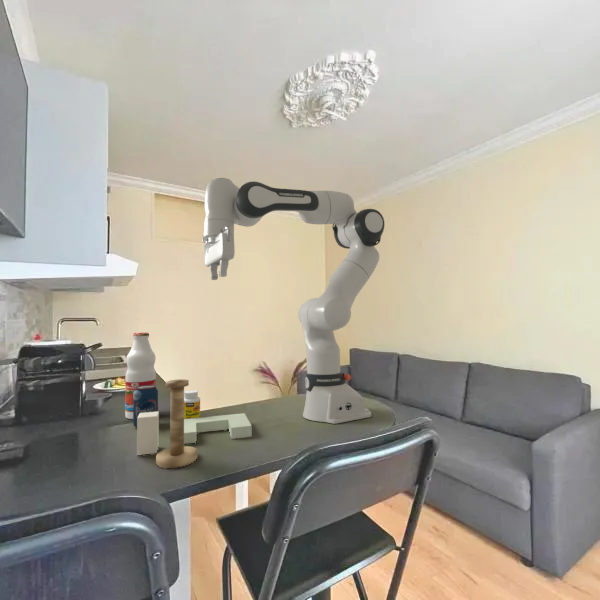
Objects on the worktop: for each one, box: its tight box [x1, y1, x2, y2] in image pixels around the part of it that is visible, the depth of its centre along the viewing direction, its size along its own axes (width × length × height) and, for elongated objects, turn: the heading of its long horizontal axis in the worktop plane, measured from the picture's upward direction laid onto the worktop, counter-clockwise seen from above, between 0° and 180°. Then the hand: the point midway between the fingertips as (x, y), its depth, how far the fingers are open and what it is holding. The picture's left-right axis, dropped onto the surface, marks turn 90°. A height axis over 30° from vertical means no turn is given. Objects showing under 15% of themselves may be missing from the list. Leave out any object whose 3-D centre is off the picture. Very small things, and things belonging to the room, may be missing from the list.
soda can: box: [132, 384, 159, 429], centre depth 106 cm, size 7×7×12 cm
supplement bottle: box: [184, 389, 201, 419], centre depth 106 cm, size 6×6×10 cm
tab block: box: [136, 410, 160, 456], centre depth 86 cm, size 4×4×9 cm
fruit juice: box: [124, 331, 157, 420], centre depth 117 cm, size 9×9×28 cm
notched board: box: [184, 412, 253, 442], centre depth 98 cm, size 20×13×3 cm, turn 108°
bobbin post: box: [155, 379, 198, 469], centre depth 80 cm, size 9×9×18 cm
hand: (218, 278), depth 104 cm, fingers open, 8 cm apart
